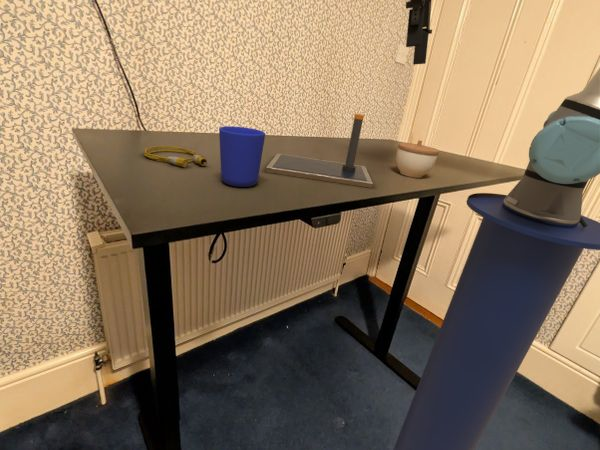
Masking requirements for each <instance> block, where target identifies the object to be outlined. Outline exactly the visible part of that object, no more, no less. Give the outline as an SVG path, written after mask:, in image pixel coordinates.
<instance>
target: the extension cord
mask: <svg viewBox="0 0 600 450" xmlns="http://www.w3.org/2000/svg"><path fill="white" fill-rule="evenodd" d="M162 152H172V153H182V154H189V155H192V157H189V158H184V157H179V156H170V155H169V156H167V157H166V156H161V155H157V154H155V153H162ZM144 156H145V157H146V158H148V159H149V160H153V161H156V162H162V163H170V164H172V165H174V167H175V166H177V167H181V168H187V167H189V163H191V162H195V164H197V165H199V166H200V165H201V166H203V167H204V166H207V163H208V160H207V159H206V158H205V157H204V156H202V155H199V154H198V153H197V152H196V151H194V150H191V149H187V148H184V147H179V146H174V145H173V146H172V145H156V146H155V145H154V146H150V147H147V148H145V150H144Z"/></svg>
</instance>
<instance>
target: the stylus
mask: <svg viewBox="0 0 600 450" xmlns="http://www.w3.org/2000/svg"><path fill="white" fill-rule="evenodd" d="M364 117H365V115H364V114H361V113H355V114H354V117H353V123H352V128H351V134H350V139H349V145H348V149H347V155H346V160H345V163H346V164H343V167H342V170H343V171H346V172H355V169H356V166H354V165H355V161H356V157H357V153H358V152H357V151H358V146H359V142H360V136H361V132H362V127H363V122H364Z"/></svg>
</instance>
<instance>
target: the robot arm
mask: <svg viewBox="0 0 600 450" xmlns="http://www.w3.org/2000/svg"><path fill="white" fill-rule="evenodd" d="M405 9H406V10H408V9H409V10H408V19H407V20H408V22H407V30H406V31H407V32H406V43H405V47H406V48H413V47H414V50H413V51H414V52H413V59H412V60H413V61H412V63H413V66H414V65H423V64H424V65H426V62H427V52H428V44H429V35H431V34H433V29H431V28H430V26H431V14H432V13H431V11H432V0H408V1H405ZM528 159H529V160H528V164H527V166H526V169H525V171H524V173H523V176H522V178H521V179H520V180H519V181H518V182H517V184H516V185H514V187H513V188H512V189H511V190H510V192H509V193H508V194H506V195H507V196H506V198H505V199H504V202H503V204H502V207H503V208H504V209H506V210H507V211H509V212H511V213H513V214H515V215H517V216H520V217H522V218H525V219H528V220H531V221H534V222H538V223H542V224H546V225H550V226H556V227H562V228H574V227H577V225H578V223H579V222H580V223H581V225H582V226H583V227H587V226H588V225H587V224H586V223H585V221H584V220H583V218H582V217H581V215H582V207H583V196H584V195H583V193H584V190H585V188H586V186H587V184H588V182H589V181H590V180H592V179H593V178H595V177H597V176H599V175H600V67H598V68H597V70H596V72H595V73H594V75H592V77H591V79H590V80H589V81H588V82H587V84H586V85H585V87H584V88H583V89H582V90H581V91H579V92H578V93H577V92H576V93H574V94H571V95H569V96H566V97H565V98H564V100H563V101H562V102H561V103H560V105H559V106H558V108H557V109H556V110H554V111H552V112H551V113H549V115H548V117H547V118H546V120H545V121H544V123H543V128H542V129H540V130H539V131H538V132H537V134H535V136H534V137H533V139H532V140H531V143H530V146H529V149H528Z"/></svg>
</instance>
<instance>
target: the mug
mask: <svg viewBox="0 0 600 450" xmlns="http://www.w3.org/2000/svg"><path fill="white" fill-rule="evenodd" d="M218 133H219V135H218V136H219V137H218V138H219V154H220V156H219V157H220V175H221V179H222V182H224V183H225V184H226V185H228V186H231V187H235V188H237V187H238V188H249V187H253V186H255V185H256V184H257V182H258V180H259V177H260V170H261V163H262V162H261V161H262V157H263V152H264V151H263V150H264V145H265V139H266V132H265V131H263V130H260V129H256V128H251V127H244V126H232V125H231V126H228V125H227V126H220V127H219V129H218Z"/></svg>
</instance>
